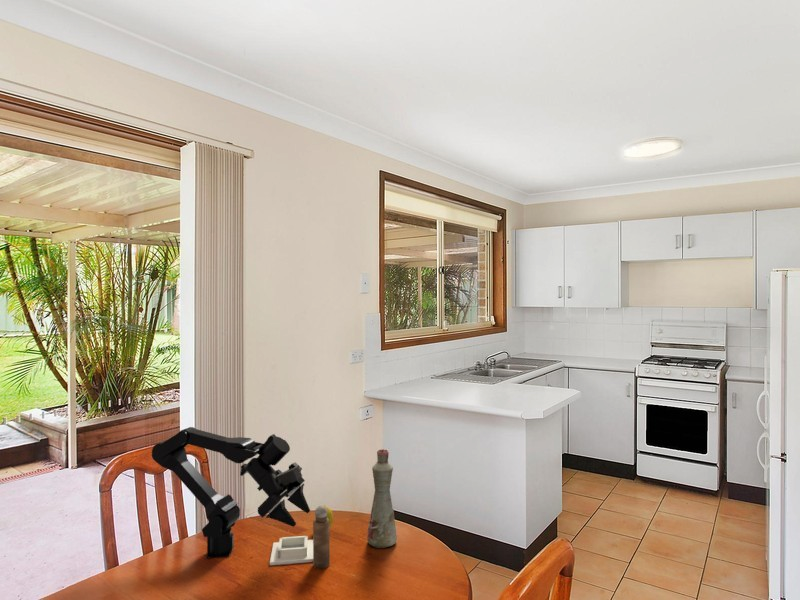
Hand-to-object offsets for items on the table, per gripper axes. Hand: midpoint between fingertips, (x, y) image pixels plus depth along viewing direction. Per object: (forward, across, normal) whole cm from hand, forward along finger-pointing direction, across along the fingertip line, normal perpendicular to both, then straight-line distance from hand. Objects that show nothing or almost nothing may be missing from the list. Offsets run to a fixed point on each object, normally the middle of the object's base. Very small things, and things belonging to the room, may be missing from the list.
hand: (302, 518), depth 144 cm
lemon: (+8, +20, +10) cm, 23 cm away
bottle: (+22, +16, -4) cm, 27 cm away
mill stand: (+5, +4, +12) cm, 14 cm away
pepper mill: (+12, 0, +5) cm, 13 cm away
